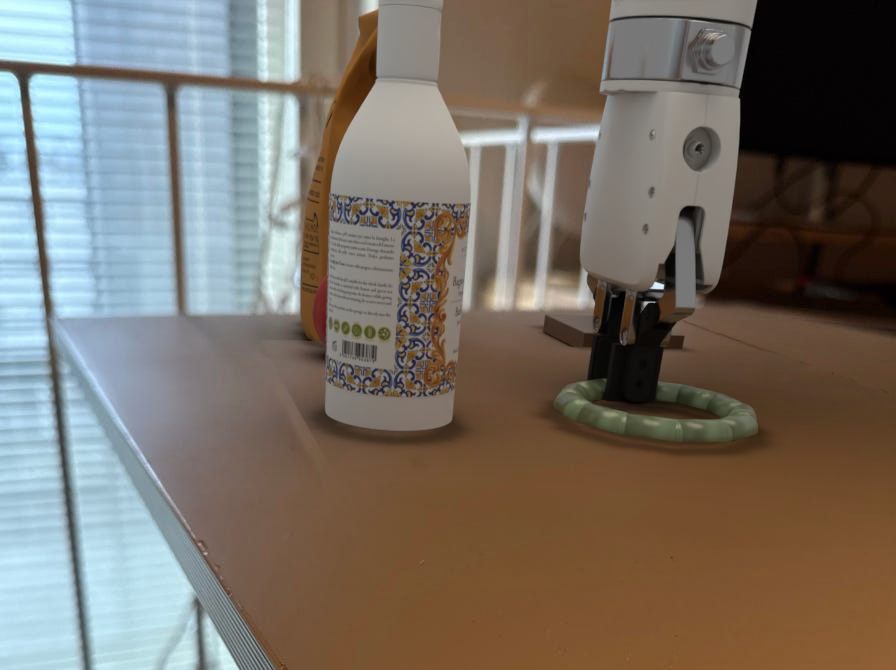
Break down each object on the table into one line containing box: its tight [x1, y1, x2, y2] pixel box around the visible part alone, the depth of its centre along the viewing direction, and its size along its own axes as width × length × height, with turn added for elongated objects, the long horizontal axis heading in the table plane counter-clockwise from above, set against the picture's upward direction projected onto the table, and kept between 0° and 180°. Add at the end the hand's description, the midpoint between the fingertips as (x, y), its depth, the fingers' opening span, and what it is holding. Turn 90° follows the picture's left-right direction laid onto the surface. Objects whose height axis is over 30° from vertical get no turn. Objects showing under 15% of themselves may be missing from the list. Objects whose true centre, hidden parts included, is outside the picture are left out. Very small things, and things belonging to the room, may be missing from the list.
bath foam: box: [324, 0, 472, 432], centre depth 48 cm, size 7×7×20 cm
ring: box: [552, 379, 759, 443], centre depth 56 cm, size 12×12×2 cm
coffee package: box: [299, 8, 379, 342], centre depth 72 cm, size 10×12×22 cm
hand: (618, 402), depth 61 cm, fingers closed on ring, 2 cm apart
